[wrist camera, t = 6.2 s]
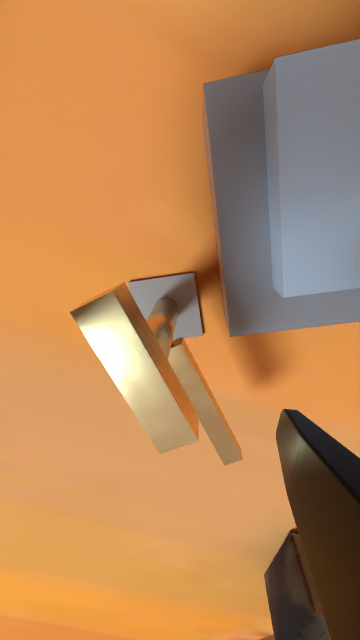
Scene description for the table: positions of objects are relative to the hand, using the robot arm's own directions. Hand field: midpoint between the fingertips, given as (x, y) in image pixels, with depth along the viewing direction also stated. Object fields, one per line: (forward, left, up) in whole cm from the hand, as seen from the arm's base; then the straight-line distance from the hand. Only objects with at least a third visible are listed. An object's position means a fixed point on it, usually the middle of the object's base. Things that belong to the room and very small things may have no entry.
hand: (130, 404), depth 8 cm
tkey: (-1, +3, -12) cm, 12 cm away
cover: (-11, -5, -8) cm, 14 cm away
